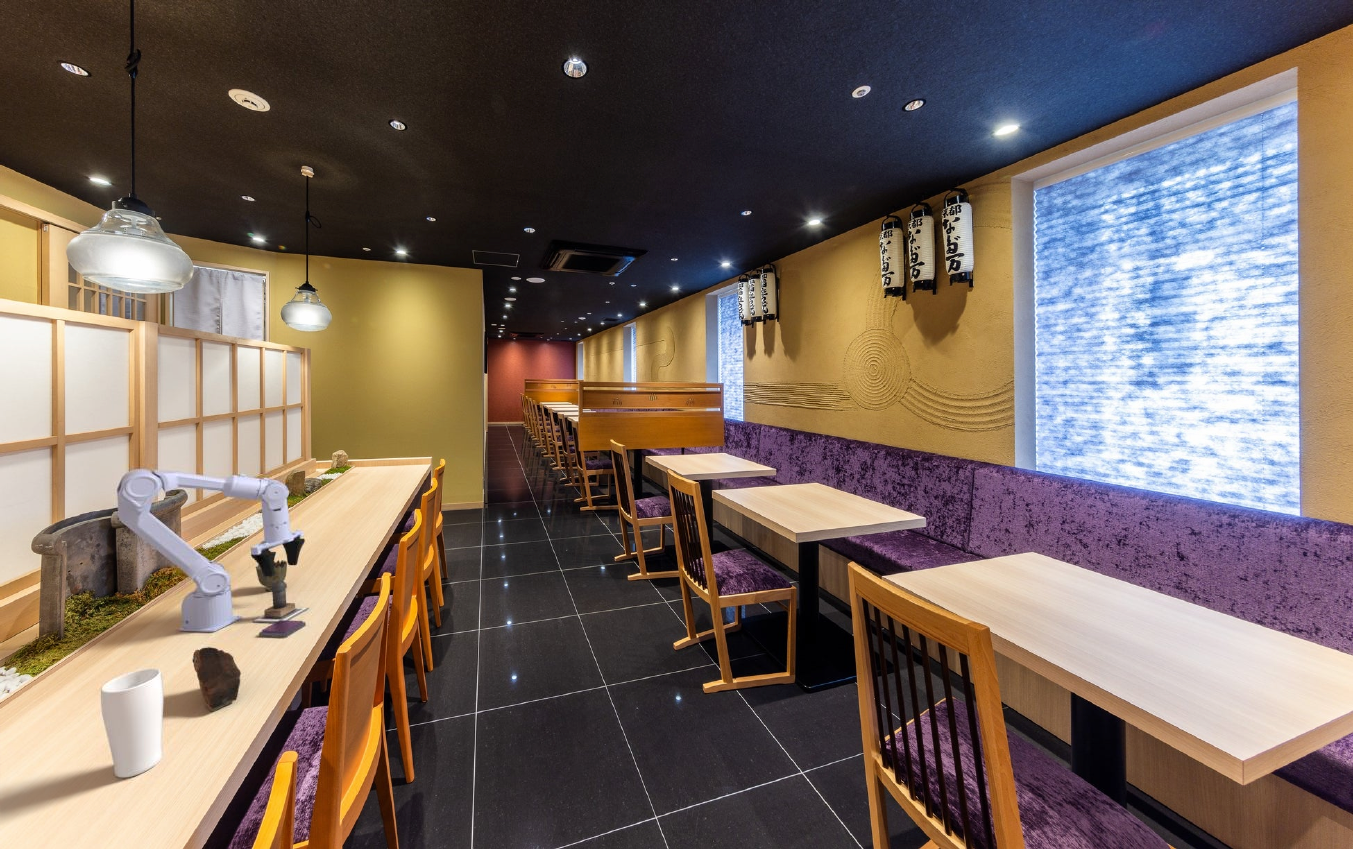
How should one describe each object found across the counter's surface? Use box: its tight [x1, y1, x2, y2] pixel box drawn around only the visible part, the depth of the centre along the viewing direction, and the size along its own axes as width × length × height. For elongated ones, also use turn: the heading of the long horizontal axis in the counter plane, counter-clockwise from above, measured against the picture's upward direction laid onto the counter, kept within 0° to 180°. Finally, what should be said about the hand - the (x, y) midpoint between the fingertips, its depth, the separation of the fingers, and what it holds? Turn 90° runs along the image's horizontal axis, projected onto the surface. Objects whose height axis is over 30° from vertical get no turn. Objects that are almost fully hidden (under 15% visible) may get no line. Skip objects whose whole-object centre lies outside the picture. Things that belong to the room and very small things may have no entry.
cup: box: [255, 560, 288, 592], centre depth 151 cm, size 8×7×8 cm
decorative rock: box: [191, 646, 242, 712], centre depth 99 cm, size 12×6×11 cm, turn 52°
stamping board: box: [252, 606, 310, 624], centre depth 134 cm, size 8×8×1 cm
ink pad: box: [258, 620, 307, 639], centre depth 126 cm, size 7×6×2 cm
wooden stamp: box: [264, 580, 296, 619], centre depth 133 cm, size 5×5×9 cm
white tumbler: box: [100, 668, 165, 779], centre depth 80 cm, size 7×7×15 cm
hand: (281, 570), depth 139 cm, fingers open, 7 cm apart
